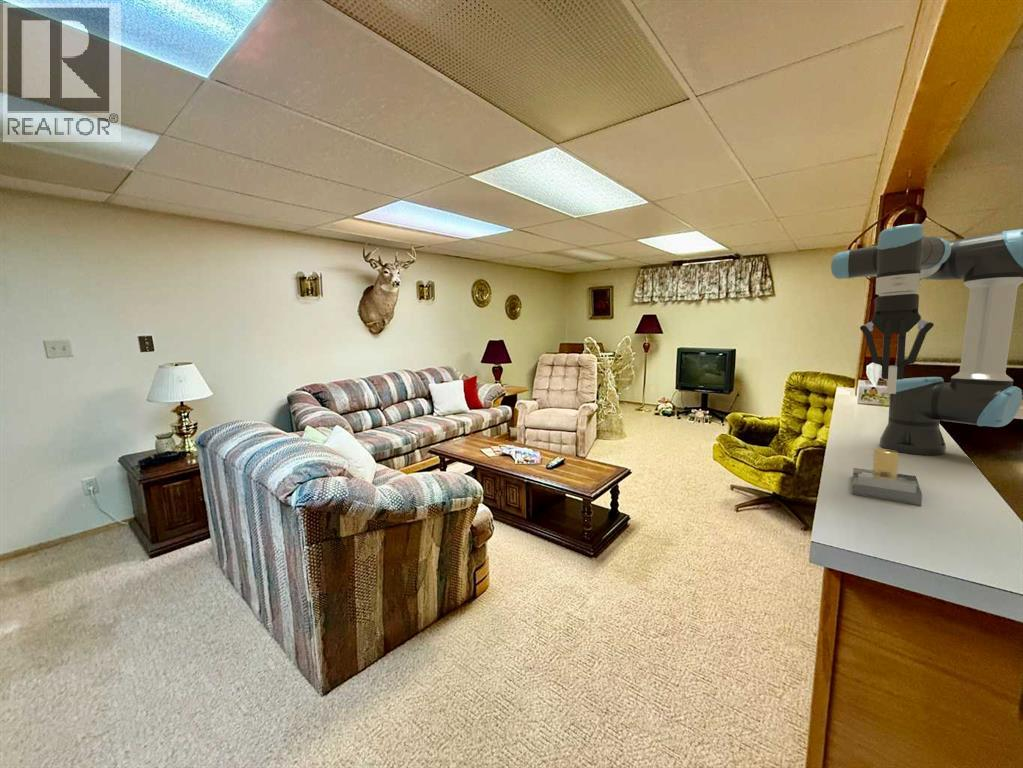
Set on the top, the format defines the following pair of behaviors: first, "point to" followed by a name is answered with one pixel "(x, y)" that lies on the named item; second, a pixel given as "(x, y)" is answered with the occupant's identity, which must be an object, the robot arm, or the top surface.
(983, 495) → the top surface
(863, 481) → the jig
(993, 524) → the top surface
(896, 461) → the brass rounded cylinder
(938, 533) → the top surface
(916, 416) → the robot arm
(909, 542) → the top surface
